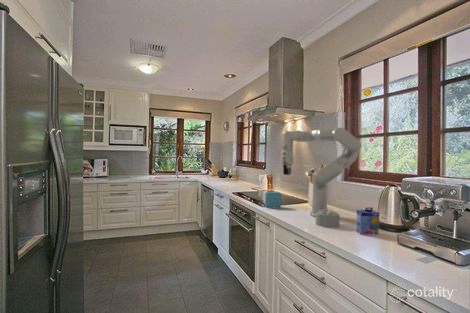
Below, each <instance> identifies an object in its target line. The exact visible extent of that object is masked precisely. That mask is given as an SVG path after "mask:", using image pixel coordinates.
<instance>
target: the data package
mask: <svg viewBox="0 0 470 313" xmlns="http://www.w3.org/2000/svg"><path fill="white" fill-rule="evenodd" d="M264 207H266V208H267V209H280V208H282V193H281V192H279V191H266V192H265V193H264Z"/></svg>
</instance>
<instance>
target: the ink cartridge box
mask: <svg viewBox="0 0 470 313" xmlns="http://www.w3.org/2000/svg"><path fill="white" fill-rule="evenodd" d="M373 209H374V208H373V207H366V208H365V209H357V210H356V229H355V230H356V231H355V232H357V233H358V234H359V233H360V234H359V235H361V234H378V235H379V230H380V229H379V228H380V226H379V225H380V224H379V223H380V212H379V211H376V210H373Z"/></svg>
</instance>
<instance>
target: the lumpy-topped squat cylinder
mask: <svg viewBox="0 0 470 313" xmlns="http://www.w3.org/2000/svg"><path fill="white" fill-rule="evenodd" d="M340 215H341V214H340V213H338V212H337V211H334V209H333V210H332V209H328V211H327V210H326V209H323V210H320V211H318V212H316V217H315V226H317V225H318V226H317V227H321V226H322V227H323V228H328V227H336V228H339V227H340V220H341V219H340ZM322 227H321V228H322Z"/></svg>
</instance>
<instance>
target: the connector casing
mask: <svg viewBox="0 0 470 313" xmlns="http://www.w3.org/2000/svg"><path fill="white" fill-rule="evenodd" d="M287 168H288V174H283V175H285V176H290V175H291V174H290V165H288V167H287Z"/></svg>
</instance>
